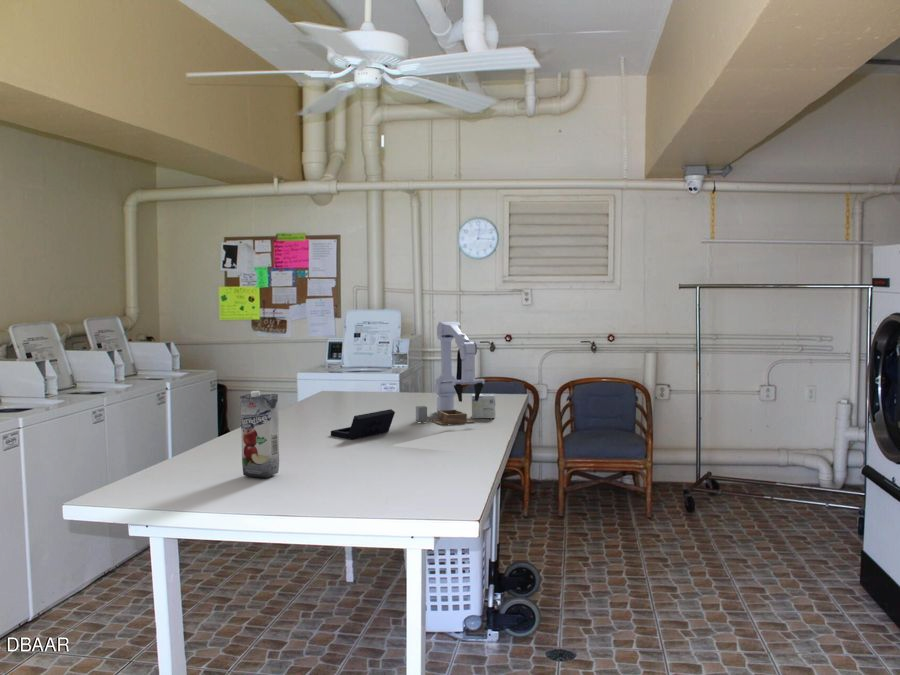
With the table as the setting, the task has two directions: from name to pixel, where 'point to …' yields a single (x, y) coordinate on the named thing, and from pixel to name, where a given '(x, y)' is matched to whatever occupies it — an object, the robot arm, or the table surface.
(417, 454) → the table surface
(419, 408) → the steel block
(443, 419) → the walnut well
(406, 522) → the table surface
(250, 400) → the juice carton
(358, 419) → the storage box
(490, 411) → the light bulb box
